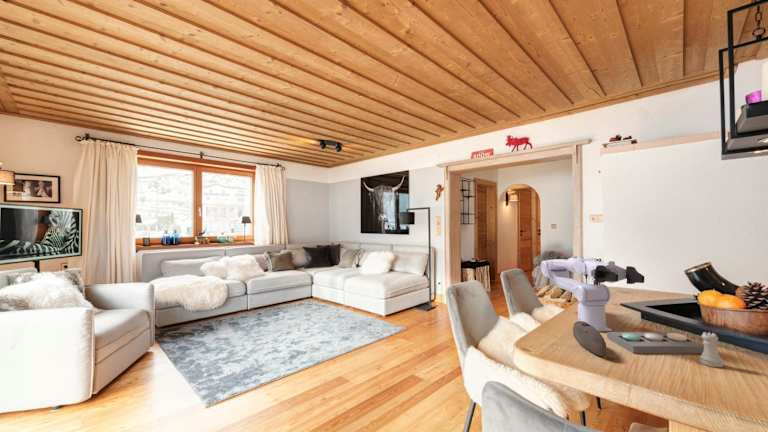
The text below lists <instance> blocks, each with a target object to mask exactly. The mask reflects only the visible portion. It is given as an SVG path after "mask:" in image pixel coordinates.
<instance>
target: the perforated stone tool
mask: <svg viewBox="0 0 768 432" xmlns="http://www.w3.org/2000/svg"><path fill="white" fill-rule="evenodd" d="M572 334H573V337H574V339H575V340H576V341H577V342H578V344H579V345H580V346H582V347H583V348H584V349H586V350H587V351H589V352H591V353H593V354H594V355H597V356H599V357H603V356H605V355H606V353H607V343H606V341H605V339H604V336H603V335H602V334H601V333H600V331H597V330H596V329H595V328H594V327H593V326H591V325H590V324H588V323H586V322H583V321H578V320H577V321H575V322H574V323H573V327H572Z"/></svg>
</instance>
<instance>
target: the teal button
mask: <svg viewBox="0 0 768 432" xmlns="http://www.w3.org/2000/svg"><path fill="white" fill-rule="evenodd" d="M622 338H623V339H624V340H627V341H632V342H639V341H640V336H639V335H636V334H631V333H623V334H622Z"/></svg>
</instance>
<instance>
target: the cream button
mask: <svg viewBox="0 0 768 432" xmlns="http://www.w3.org/2000/svg"><path fill="white" fill-rule="evenodd" d="M667 338H668V339H670V340H673V341H679V342H686V341H687V339H686V338H687V335H685V334H681V333H676V332H674V333H667Z"/></svg>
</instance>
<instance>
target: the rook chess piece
mask: <svg viewBox="0 0 768 432" xmlns="http://www.w3.org/2000/svg"><path fill="white" fill-rule="evenodd" d="M701 338H702V339H703V341H702V344H704V351H703V353H701V355H700V356H699V358H700V360H699V362H700V363H701V364H703V365H704V366H707V367H711V368H723V367H724V366H725V365H724V359H723V358H722V357H721V355H720V354H719V351H718V345H719V344H718V343H717V341H718V340H719V337H718V336H717V334H716V333H714V332H712V333H711V332H706V331H704V332H702V334H701Z"/></svg>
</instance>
